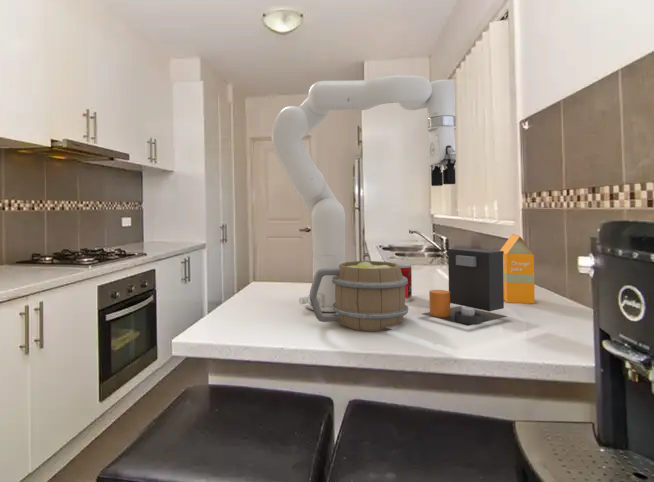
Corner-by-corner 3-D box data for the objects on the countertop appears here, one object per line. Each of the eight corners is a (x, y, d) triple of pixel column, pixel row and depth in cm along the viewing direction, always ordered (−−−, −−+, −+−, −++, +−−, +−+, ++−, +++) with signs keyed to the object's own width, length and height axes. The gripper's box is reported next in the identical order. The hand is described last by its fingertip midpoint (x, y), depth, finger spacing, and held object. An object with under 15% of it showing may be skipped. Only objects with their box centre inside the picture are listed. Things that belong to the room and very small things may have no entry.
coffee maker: (486, 312, 111) (485, 253, 111) (444, 303, 122) (444, 249, 122) (504, 308, 115) (503, 251, 115) (462, 300, 126) (462, 247, 126)
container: (441, 318, 113) (441, 294, 113) (425, 314, 117) (425, 291, 118) (454, 315, 116) (454, 292, 116) (438, 311, 120) (438, 289, 120)
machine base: (469, 331, 106) (469, 318, 106) (420, 318, 118) (420, 306, 118) (509, 321, 114) (509, 309, 114) (459, 310, 126) (459, 299, 126)
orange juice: (506, 302, 136) (505, 235, 136) (499, 296, 144) (498, 233, 145) (535, 303, 134) (534, 235, 134) (526, 297, 143) (525, 233, 143)
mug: (303, 316, 121) (302, 260, 121) (391, 312, 124) (391, 258, 124) (317, 336, 102) (317, 270, 102) (421, 331, 105) (420, 267, 106)
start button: (469, 317, 108) (469, 310, 108) (458, 314, 111) (458, 307, 111) (477, 315, 110) (477, 308, 110) (466, 313, 112) (466, 306, 112)
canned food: (414, 301, 138) (414, 265, 138) (388, 301, 138) (388, 265, 138) (407, 296, 146) (407, 262, 146) (383, 296, 146) (382, 262, 146)
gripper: (419, 130, 137) (420, 186, 137) (438, 119, 120) (440, 183, 120) (444, 129, 137) (445, 186, 137) (467, 118, 120) (468, 183, 120)
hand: (442, 185), depth 128 cm, fingers open, 9 cm apart
